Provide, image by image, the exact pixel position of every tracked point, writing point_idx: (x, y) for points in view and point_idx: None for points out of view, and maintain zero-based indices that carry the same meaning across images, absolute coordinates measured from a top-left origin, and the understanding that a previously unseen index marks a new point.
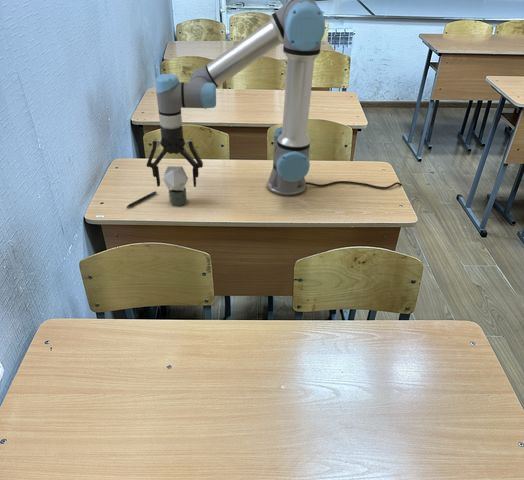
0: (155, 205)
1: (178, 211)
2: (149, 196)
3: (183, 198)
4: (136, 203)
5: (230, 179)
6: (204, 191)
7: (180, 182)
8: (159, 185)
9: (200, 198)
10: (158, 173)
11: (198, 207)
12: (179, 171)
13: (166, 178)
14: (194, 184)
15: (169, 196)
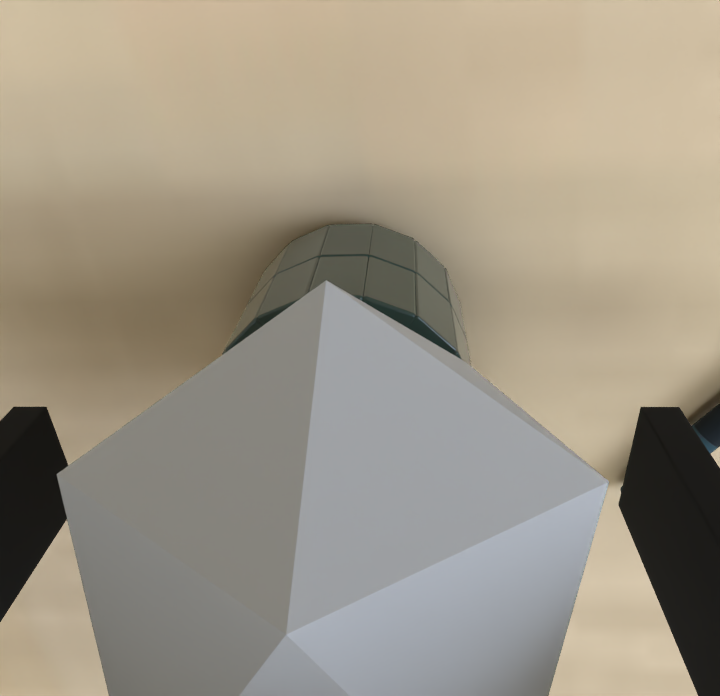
0: (641, 238)
1: (323, 83)
2: (707, 418)
3: (261, 287)
4: None
5: (8, 677)
6: None
7: (185, 389)
8: (637, 433)
9: (142, 407)
10: (715, 649)
11: (97, 210)
12: (168, 666)
13: (517, 476)
14: (7, 432)
15: (461, 326)
